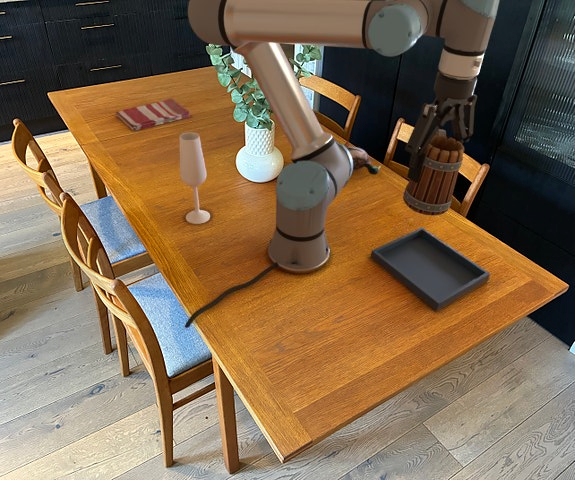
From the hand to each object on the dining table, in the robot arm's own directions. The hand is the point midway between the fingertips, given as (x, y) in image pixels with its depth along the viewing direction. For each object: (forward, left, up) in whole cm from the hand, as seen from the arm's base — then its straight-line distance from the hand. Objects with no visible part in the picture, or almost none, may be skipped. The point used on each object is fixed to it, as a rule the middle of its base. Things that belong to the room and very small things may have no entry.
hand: (431, 172), depth 104 cm
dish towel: (-23, +112, -24) cm, 117 cm away
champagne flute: (-38, +43, -24) cm, 63 cm away
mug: (0, 0, -7) cm, 7 cm away
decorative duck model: (+14, +39, -24) cm, 48 cm away
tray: (0, -6, -24) cm, 25 cm away
